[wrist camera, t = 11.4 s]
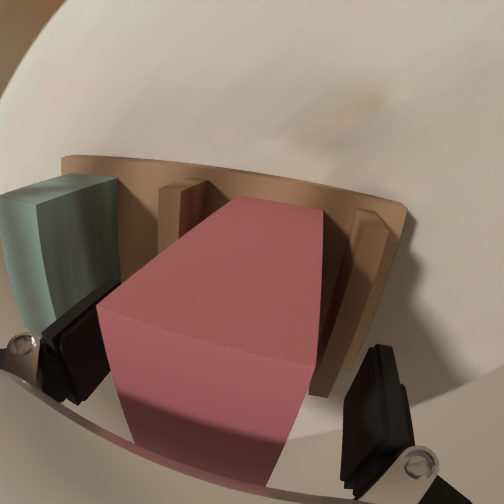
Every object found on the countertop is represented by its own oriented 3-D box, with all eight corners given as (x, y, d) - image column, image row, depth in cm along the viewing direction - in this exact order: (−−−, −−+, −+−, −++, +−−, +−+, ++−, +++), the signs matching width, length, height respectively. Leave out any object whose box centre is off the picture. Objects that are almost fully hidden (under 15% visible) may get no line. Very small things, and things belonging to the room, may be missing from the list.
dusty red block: (323, 209, 13) (315, 366, 4) (292, 346, 17) (253, 509, 7) (238, 194, 14) (96, 305, 5) (225, 330, 17) (148, 476, 8)
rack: (401, 202, 13) (458, 259, 7) (349, 357, 17) (350, 453, 11) (73, 154, 17) (-14, 176, 10) (83, 285, 21) (20, 334, 14)
